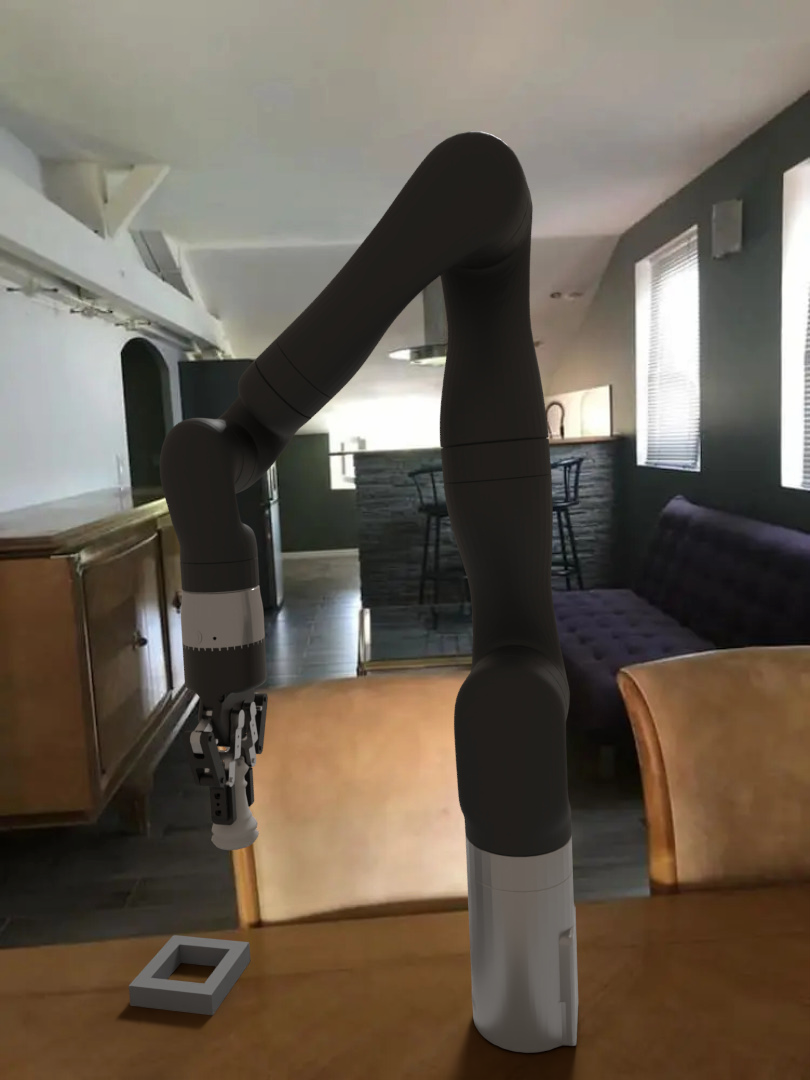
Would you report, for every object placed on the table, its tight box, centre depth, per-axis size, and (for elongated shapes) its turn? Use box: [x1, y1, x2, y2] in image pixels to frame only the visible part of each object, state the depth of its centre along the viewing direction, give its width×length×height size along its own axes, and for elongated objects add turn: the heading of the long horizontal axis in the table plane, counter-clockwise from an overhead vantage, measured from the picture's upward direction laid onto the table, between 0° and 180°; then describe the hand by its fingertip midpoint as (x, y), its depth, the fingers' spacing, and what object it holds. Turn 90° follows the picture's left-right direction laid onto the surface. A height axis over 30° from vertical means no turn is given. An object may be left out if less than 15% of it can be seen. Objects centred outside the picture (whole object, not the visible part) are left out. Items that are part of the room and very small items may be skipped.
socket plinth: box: [128, 934, 251, 1016], centre depth 82 cm, size 8×8×2 cm
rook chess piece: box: [211, 756, 259, 851], centre depth 79 cm, size 4×4×8 cm
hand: (233, 813), depth 79 cm, fingers closed on rook chess piece, 3 cm apart
